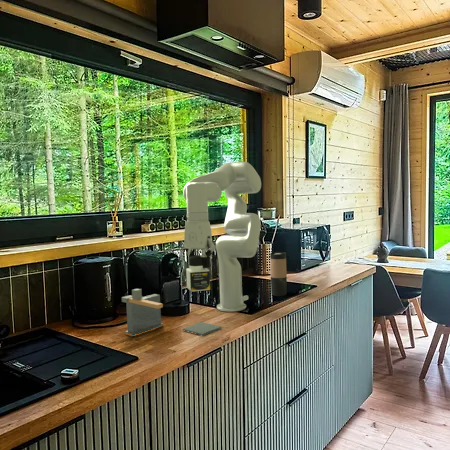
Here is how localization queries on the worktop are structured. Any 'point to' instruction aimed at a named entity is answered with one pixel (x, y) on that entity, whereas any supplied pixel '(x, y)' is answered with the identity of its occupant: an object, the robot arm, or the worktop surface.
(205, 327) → the slate coaster
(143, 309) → the rail
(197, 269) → the medicine bottle
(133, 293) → the bar
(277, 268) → the travel mug
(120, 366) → the worktop surface
